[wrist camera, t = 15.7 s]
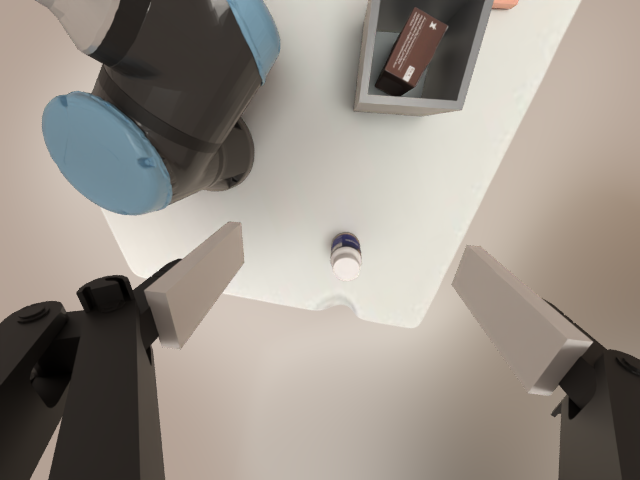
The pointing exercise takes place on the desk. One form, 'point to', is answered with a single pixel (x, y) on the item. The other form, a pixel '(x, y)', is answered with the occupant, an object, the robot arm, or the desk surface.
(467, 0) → the bin
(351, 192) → the desk surface
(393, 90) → the box
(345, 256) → the pill bottle
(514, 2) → the lid
